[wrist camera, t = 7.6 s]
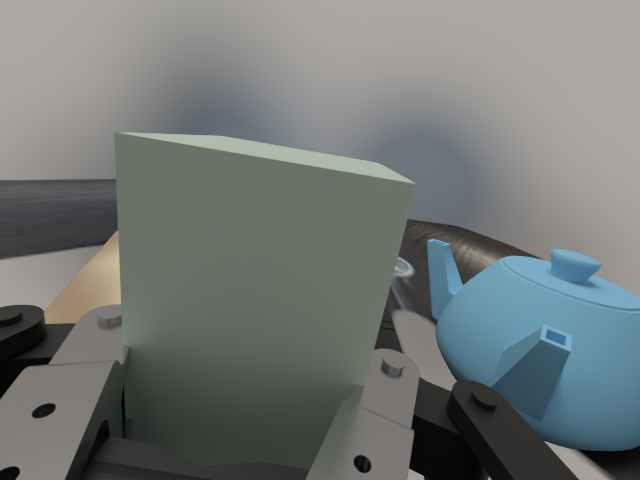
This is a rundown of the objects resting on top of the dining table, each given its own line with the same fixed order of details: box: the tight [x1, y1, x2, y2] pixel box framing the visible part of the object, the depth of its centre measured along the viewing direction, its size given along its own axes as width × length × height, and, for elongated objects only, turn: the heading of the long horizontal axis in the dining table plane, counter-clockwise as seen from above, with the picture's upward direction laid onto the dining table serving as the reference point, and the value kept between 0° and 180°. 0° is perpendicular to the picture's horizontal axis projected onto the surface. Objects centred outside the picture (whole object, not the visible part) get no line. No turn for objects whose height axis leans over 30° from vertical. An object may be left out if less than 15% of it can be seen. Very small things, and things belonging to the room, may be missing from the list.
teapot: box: [427, 239, 640, 451], centre depth 23 cm, size 15×15×11 cm
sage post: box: [115, 132, 416, 471], centre depth 9 cm, size 5×5×12 cm
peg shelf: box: [44, 230, 121, 324], centre depth 25 cm, size 16×20×6 cm
